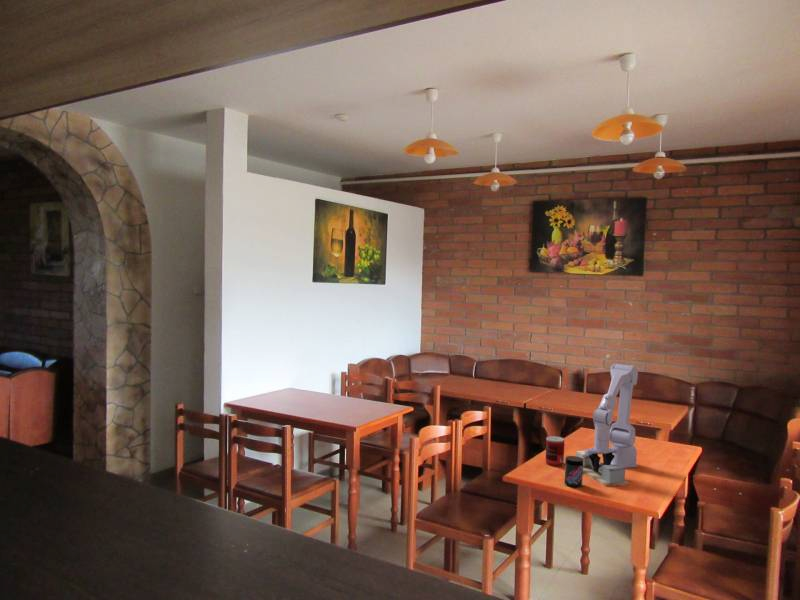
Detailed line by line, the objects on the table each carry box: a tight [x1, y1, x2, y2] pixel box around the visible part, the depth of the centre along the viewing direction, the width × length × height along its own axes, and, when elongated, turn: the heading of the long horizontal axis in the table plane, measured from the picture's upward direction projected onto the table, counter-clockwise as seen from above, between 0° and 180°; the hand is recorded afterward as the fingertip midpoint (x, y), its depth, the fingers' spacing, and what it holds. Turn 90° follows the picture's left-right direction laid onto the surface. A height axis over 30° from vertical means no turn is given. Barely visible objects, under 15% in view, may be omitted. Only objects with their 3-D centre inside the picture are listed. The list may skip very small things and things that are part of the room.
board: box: [583, 464, 630, 487], centre depth 237 cm, size 27×10×1 cm, turn 14°
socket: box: [602, 464, 626, 483], centre depth 227 cm, size 5×7×5 cm
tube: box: [584, 456, 605, 474], centre depth 237 cm, size 19×4×4 cm, turn 14°
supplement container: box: [564, 455, 584, 489], centre depth 224 cm, size 7×7×10 cm
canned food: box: [545, 435, 565, 467], centre depth 249 cm, size 8×8×11 cm
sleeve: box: [575, 450, 589, 467], centre depth 246 cm, size 5×7×5 cm
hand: (600, 471), depth 235 cm, fingers closed on tube, 4 cm apart
